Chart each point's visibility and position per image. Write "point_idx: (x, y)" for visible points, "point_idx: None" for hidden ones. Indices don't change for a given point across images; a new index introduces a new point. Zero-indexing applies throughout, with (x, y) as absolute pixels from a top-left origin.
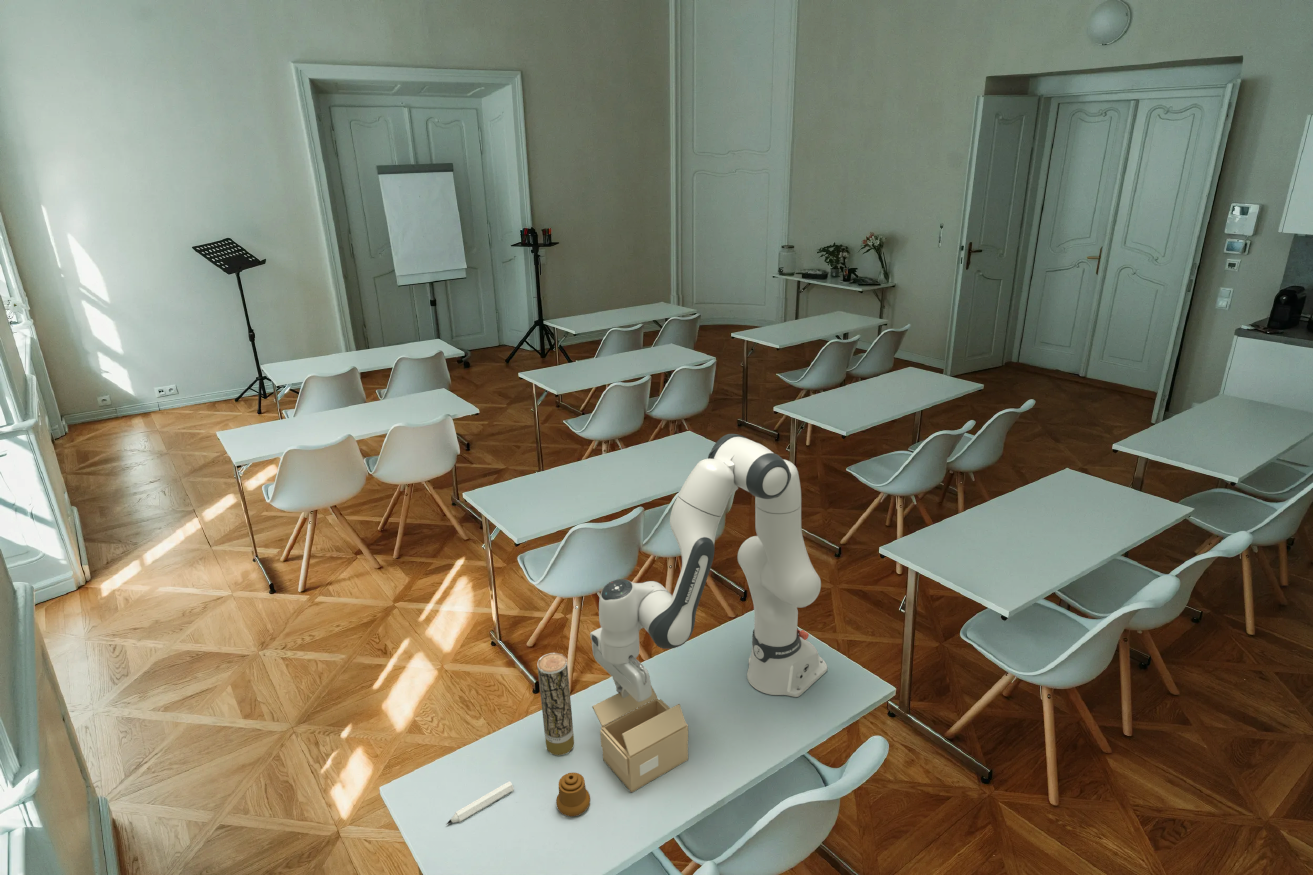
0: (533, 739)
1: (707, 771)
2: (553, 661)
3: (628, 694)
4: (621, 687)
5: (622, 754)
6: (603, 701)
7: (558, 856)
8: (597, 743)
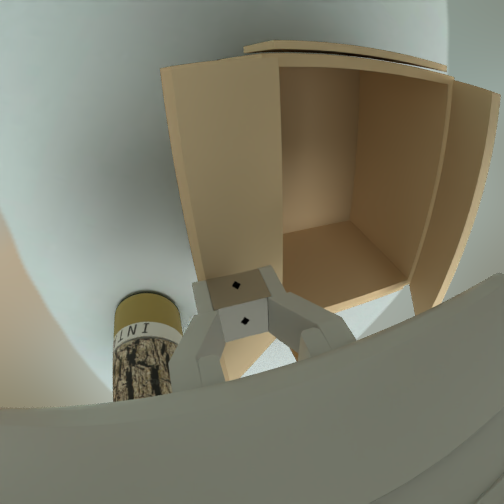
0: (110, 347)
1: (406, 53)
2: None
3: (273, 271)
4: (237, 324)
5: (388, 293)
6: (227, 358)
7: (353, 334)
8: (173, 242)
